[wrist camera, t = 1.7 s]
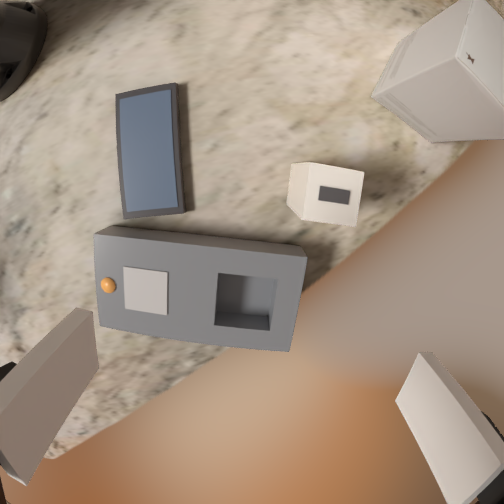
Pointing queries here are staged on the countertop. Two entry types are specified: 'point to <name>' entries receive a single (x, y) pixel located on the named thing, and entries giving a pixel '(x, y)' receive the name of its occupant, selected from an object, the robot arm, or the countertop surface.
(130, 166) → the phone
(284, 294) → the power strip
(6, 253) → the countertop surface
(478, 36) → the supplement box
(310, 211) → the block
